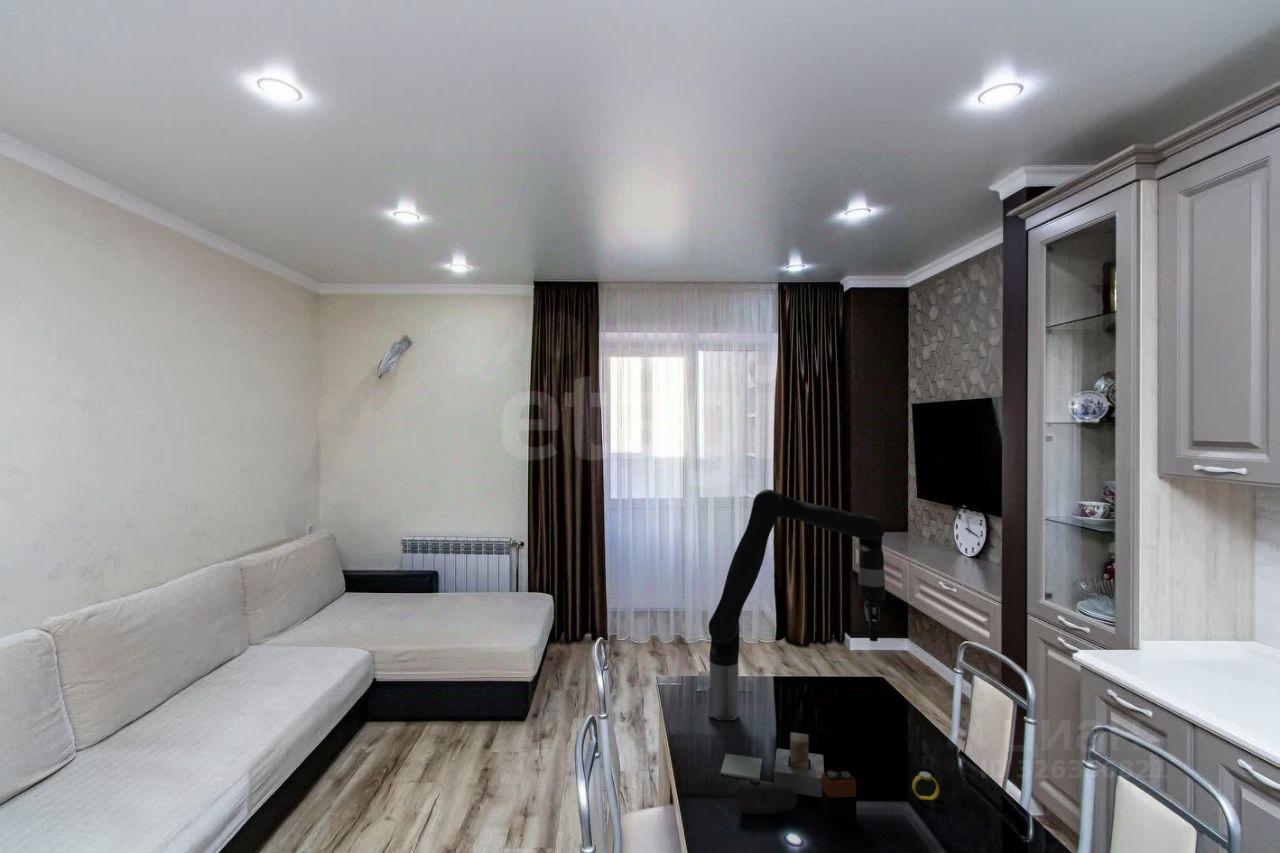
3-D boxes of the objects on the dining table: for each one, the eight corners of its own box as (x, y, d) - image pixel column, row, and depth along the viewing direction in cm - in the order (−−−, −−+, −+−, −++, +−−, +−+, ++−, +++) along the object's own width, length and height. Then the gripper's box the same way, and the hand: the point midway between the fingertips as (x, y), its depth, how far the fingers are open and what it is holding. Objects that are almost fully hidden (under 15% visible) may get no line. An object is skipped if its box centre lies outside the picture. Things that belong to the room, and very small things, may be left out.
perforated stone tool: (794, 805, 141) (794, 775, 141) (801, 819, 135) (800, 788, 136) (732, 805, 140) (732, 775, 141) (736, 819, 135) (736, 788, 136)
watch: (916, 802, 143) (913, 777, 143) (911, 795, 145) (909, 771, 146) (941, 802, 142) (939, 777, 142) (937, 795, 145) (934, 771, 145)
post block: (774, 789, 147) (774, 771, 147) (776, 765, 158) (776, 748, 159) (824, 797, 144) (824, 779, 144) (823, 772, 155) (823, 754, 155)
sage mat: (720, 774, 154) (720, 772, 154) (725, 755, 163) (725, 753, 163) (759, 780, 151) (759, 778, 151) (762, 761, 161) (762, 758, 161)
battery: (821, 811, 138) (820, 768, 139) (848, 810, 139) (848, 767, 139) (828, 823, 134) (828, 778, 134) (857, 821, 134) (856, 777, 135)
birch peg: (790, 784, 150) (790, 740, 150) (790, 774, 154) (790, 732, 154) (808, 787, 148) (808, 742, 149) (808, 777, 153) (808, 734, 153)
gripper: (856, 577, 186) (857, 628, 185) (860, 586, 172) (860, 642, 172) (882, 578, 184) (882, 631, 183) (887, 588, 170) (888, 645, 169)
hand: (872, 636), depth 177 cm, fingers open, 8 cm apart
